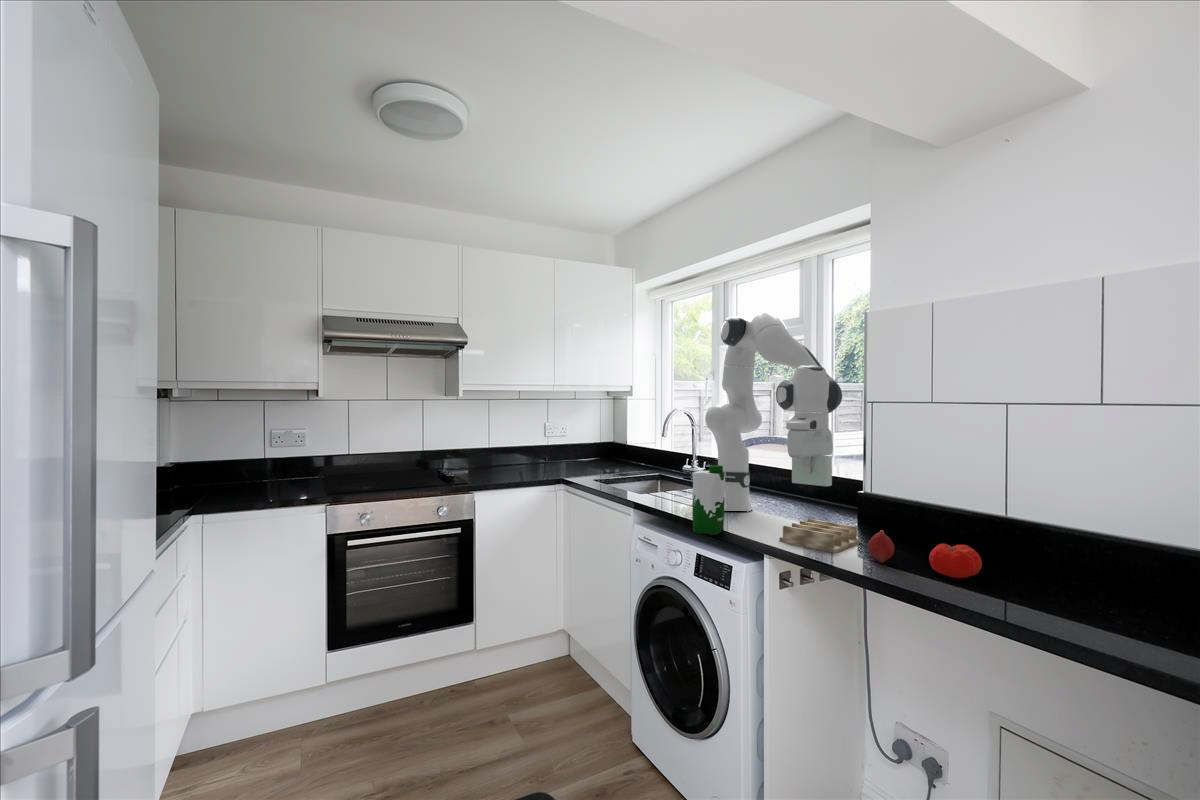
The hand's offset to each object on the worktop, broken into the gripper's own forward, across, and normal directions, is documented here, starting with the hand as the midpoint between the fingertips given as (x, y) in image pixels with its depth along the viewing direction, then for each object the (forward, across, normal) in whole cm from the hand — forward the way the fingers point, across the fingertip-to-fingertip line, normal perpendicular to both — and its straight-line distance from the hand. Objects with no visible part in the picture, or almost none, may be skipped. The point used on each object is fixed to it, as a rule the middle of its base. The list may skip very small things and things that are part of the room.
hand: (811, 472), depth 150 cm
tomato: (+21, 0, +34) cm, 40 cm away
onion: (+20, +3, +19) cm, 28 cm away
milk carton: (+20, +9, -28) cm, 35 cm away
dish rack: (+20, -5, 0) cm, 20 cm away
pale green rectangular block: (+3, 0, 0) cm, 3 cm away
